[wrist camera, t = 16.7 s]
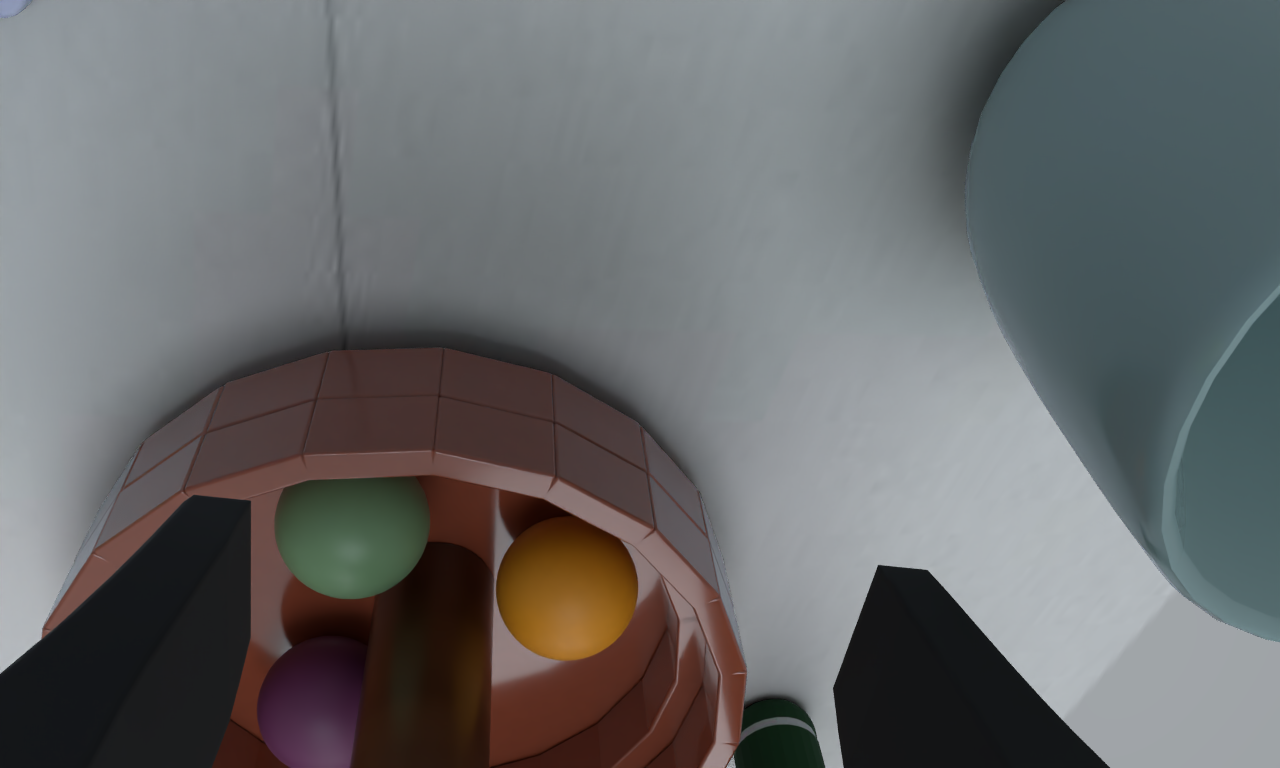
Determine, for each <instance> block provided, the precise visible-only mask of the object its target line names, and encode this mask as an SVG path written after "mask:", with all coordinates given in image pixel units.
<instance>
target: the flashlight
mask: <svg viewBox="0 0 1280 768" xmlns="http://www.w3.org/2000/svg"><path fill="white" fill-rule="evenodd" d="M734 760H735V765H736V768H825V765H824V761H823V757H822V753H821V750H820V746H819V742H818V740H817V735H816V731H815V728H814V725H813V723H812V721H811V719H810V718H809V716H808V715H807V714H806V712H805V711H804V710H802V709H801V708H800V707H799V706H797V705H796V704H794V703H792V702H790V701H787V700H782V699H768V700H763V701H760V702H757V703H754V704H752V705H751V706H749V707H748V708H746V709H745V710H744V711H743V720H742V730H741V739H740V742H739V746H738V747H737V749H736V751H735V753H734Z"/></svg>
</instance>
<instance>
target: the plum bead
mask: <svg viewBox="0 0 1280 768" xmlns="http://www.w3.org/2000/svg"><path fill="white" fill-rule="evenodd" d="M367 647H368V646H367V645H365V644H363V643H361V642H359V641H357V640H354V639H351V638H348V637H342V636H320V637H315V638H312V639H309V640H306V641H304V642H301V643H299V644H297V645H295V646H294V647H292V648H291V649H289V650H288V651H286V652H285V653H284V654H283V655H282V656H281V657H280V658H279V659H278V660H277V661H276V662H275V663H274V664H273V666H272V667H271V668H270V670H269V671H268V673H267V675H266V677H265V679H264V681H263V683H262V686H261V688H260V692H259V697H258V702H257V719H258V724H259V728H260V732H261V735H262V737H263V740H264V741H265V743H266V745H267V747H268V748H269V749H270V751H271V752H272V753H273V754H274V755H275V756H276V757H277V758H278V759H279V760H280V761H281V762H282V763H284V764H285V765H287V766H288V767H290V768H350V761H351V754H352V748H353V741H354V734H355V727H356V721H357V714H358V707H359V701H360V694H361V687H362V680H363V674H364V667H365V660H366V654H367Z"/></svg>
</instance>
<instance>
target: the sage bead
mask: <svg viewBox="0 0 1280 768" xmlns="http://www.w3.org/2000/svg"><path fill="white" fill-rule="evenodd" d="M274 528H275V539H276V542H277V546H278V549H279V552H280V554H281V557H282V559H283V561H284V562H285V564H286V565H287V567H288V568H289V570H290V571H291V572H292V573H293V574H294V575H295V577H296V578H297V579H298V580H299V581H301V582H302V583H303V584H305V585H306V586H307V587H309V588H311V589H312V590H314V591H316V592H318V593H321V594H324V595H327V596H330V597H334V598H339V599H361V598H366V597H370V596H374V595H377V594H380V593H382V592H384V591H387V590H388V589H390V588H392V587H394V586H395V585H396V584H398V583H399V582H401V581H402V580H403V579H404V578H405V577H406V576H407V575H408V574H409V573H410V572H411V571H412V570H413V568H414V567H415V566H416V564H417V563H418V561H419V560H420V558H421V556H422V554H423V552H424V550H425V547H426V544H427V541H428V536H429V531H430V511H429V505H428V501H427V498H426V495H425V492H424V490H423V489H422V487H421V485H420V483H419V481H418V480H417V478H416V477H415V476H413V477H385V478H358V479H331V480H309V481H306V482H303V483H299V484H296V485H293V486H289V487H286V488H284V489H283V491H282V493H281V495H280V498H279V501H278V504H277V508H276V513H275V522H274Z"/></svg>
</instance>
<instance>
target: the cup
mask: <svg viewBox="0 0 1280 768" xmlns="http://www.w3.org/2000/svg"><path fill="white" fill-rule="evenodd" d="M965 211H966V229H967V236H968V241H969V245H970V250H971V254H972V257H973V260H974V263H975V266H976V269H977V273H978V276H979V279H980V282H981V285H982V288H983V290H984V293H985V296H986V298H987V301H988V304H989V306H990V309H991V311H992V313H993V315H994V317H995V319H996V322H997V324H998V326H999V328H1000V330H1001V332H1002V334H1003V336H1004V338H1005V340H1006V342H1007V343H1008V345H1009V347H1010V349H1011V351H1012V352H1013V354H1014V356H1015V358H1016V360H1017V361H1018V363H1019V365H1020V367H1021V368H1022V370H1023V371H1024V373H1025V375H1026V376H1027V378H1028V380H1029V381H1030V383H1031V385H1032V386H1033V388H1034V390H1035V391H1036V393H1037V394H1038V396H1039V398H1040V399H1041V401H1042V402H1043V404H1044V405H1045V407H1046V408H1047V410H1048V412H1049V413H1050V415H1051V416H1052V418H1053V419H1054V421H1055V422H1056V424H1057V425H1058V427H1059V429H1060V430H1061V432H1062V433H1063V435H1064V436H1065V438H1066V439H1067V441H1068V442H1069V444H1070V445H1071V447H1072V448H1073V450H1074V451H1075V453H1076V454H1077V456H1078V457H1079V459H1080V460H1081V462H1082V463H1083V465H1084V466H1085V468H1086V469H1087V471H1088V472H1089V474H1090V475H1091V477H1092V478H1093V480H1094V481H1095V483H1096V484H1097V486H1098V487H1099V489H1100V490H1101V491H1102V493H1103V494H1104V496H1105V497H1106V499H1107V500H1108V502H1109V503H1110V505H1111V506H1112V507H1113V509H1114V510H1115V512H1116V513H1117V515H1118V516H1119V517H1120V519H1121V520H1122V521H1123V523H1124V524H1125V526H1126V527H1127V528H1128V530H1129V531H1130V532H1131V534H1132V535H1133V536H1134V538H1135V539H1136V541H1137V542H1138V543H1139V545H1140V546H1141V547H1142V549H1143V550H1144V551H1145V553H1146V554H1147V556H1148V557H1149V558H1150V560H1151V561H1152V562H1153V564H1154V565H1155V566H1156V568H1157V569H1158V570H1159V571H1160V573H1161V574H1162V575H1163V576H1164V577H1165V578H1166V580H1167V581H1168V582H1169V583H1170V584H1171V585H1172V586H1173V587H1174V588H1175V589H1176V590H1177V591H1178V592H1179V593H1181V594H1182V595H1183V596H1184V597H1186V598H1187V599H1188V600H1189V601H1191V602H1192V603H1194V604H1195V605H1196V606H1198V607H1199V608H1201V609H1202V610H1203V611H1205V612H1206V613H1208V614H1209V615H1210V616H1212V617H1213V618H1215V619H1216V620H1218V621H1220V622H1223V623H1225V624H1228V625H1230V626H1233V627H1235V628H1238V629H1240V630H1243V631H1245V632H1247V633H1250V634H1252V635H1255V636H1257V637H1261V638H1263V639H1267V640H1272V641H1276V642H1280V0H1066V1H1065V2H1064V3H1062V4H1061V5H1059V6H1058V7H1057V8H1055V9H1054V10H1053V11H1052V12H1051V13H1050V14H1049V15H1048V16H1047V17H1046V18H1045V19H1044V21H1043V22H1042V23H1041V24H1040V25H1039V26H1038V27H1037V28H1036V29H1035V30H1034V31H1033V32H1032V33H1031V34H1030V35H1029V36H1028V37H1027V38H1026V39H1025V40H1024V42H1023V43H1022V45H1021V46H1020V47H1019V49H1018V50H1017V52H1016V53H1015V55H1014V56H1013V57H1012V59H1011V60H1010V62H1009V63H1008V65H1007V66H1006V67H1005V69H1004V70H1003V72H1002V73H1001V75H1000V77H999V79H998V81H997V83H996V85H995V87H994V89H993V91H992V93H991V95H990V97H989V98H988V100H987V102H986V104H985V106H984V108H983V110H982V113H981V116H980V119H979V122H978V125H977V128H976V132H975V135H974V138H973V141H972V144H971V147H970V153H969V159H968V166H967V173H966V180H965Z"/></svg>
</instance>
